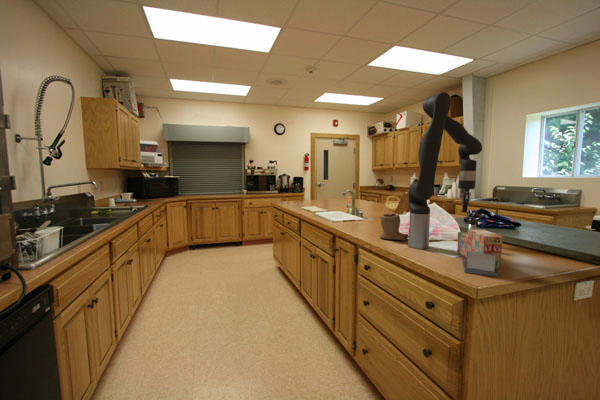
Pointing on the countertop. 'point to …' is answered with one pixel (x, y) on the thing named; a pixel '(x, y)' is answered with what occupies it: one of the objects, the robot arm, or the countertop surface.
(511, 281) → the countertop surface
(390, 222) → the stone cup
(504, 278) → the countertop surface
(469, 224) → the sliding jaw
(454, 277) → the countertop surface
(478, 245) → the stack of blocks
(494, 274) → the vise bed
